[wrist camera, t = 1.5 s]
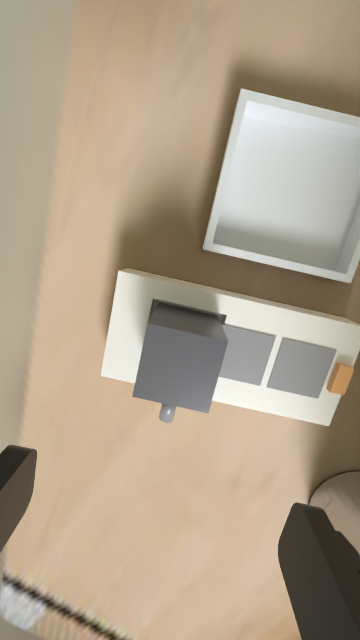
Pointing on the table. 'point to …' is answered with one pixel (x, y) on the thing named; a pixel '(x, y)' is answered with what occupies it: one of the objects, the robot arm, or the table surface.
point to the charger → (180, 359)
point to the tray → (289, 188)
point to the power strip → (244, 345)
